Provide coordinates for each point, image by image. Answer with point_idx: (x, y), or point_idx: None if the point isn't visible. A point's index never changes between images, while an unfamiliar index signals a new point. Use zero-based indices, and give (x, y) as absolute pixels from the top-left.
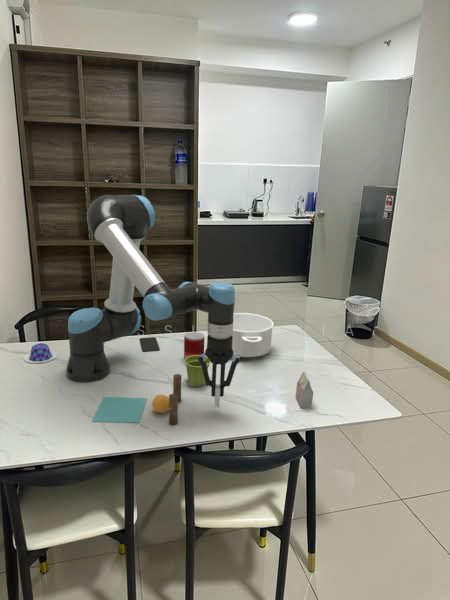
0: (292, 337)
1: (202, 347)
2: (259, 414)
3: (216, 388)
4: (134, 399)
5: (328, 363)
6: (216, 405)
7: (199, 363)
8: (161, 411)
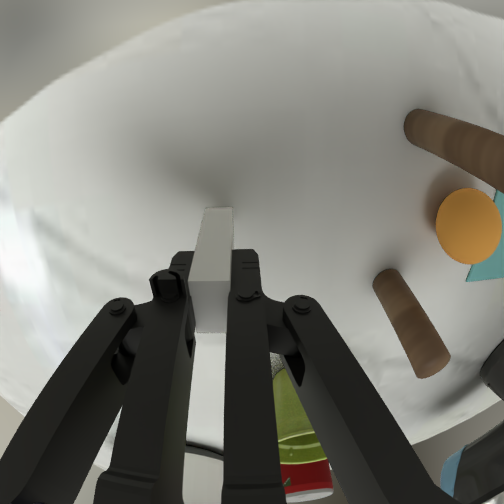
0: (104, 463)
1: (281, 473)
2: (47, 214)
3: (219, 280)
4: (492, 270)
5: (16, 405)
6: (221, 211)
7: (297, 438)
8: (463, 188)
